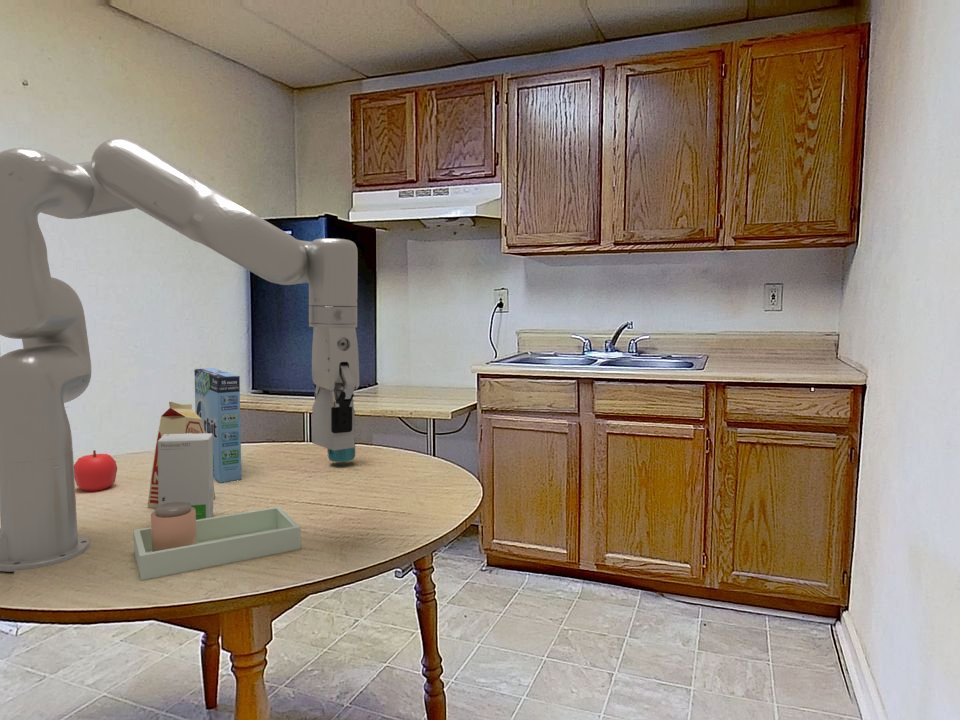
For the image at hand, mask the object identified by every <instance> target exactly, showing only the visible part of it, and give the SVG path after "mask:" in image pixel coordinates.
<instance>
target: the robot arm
mask: <svg viewBox="0 0 960 720" xmlns="http://www.w3.org/2000/svg"><path fill="white" fill-rule="evenodd" d="M134 209H137V210H139V211H141V212H142V213H144V214H146V215H148V216H149V217H152V218H154V219H155V220H157V221H159V222H161V223H162V224H164V225H166V226H167V227H169V228H171V229H172V230H175V231H176V232H178V233H179V234H181V235H183V236H185V237H186V238H188V239H189V240H192V241H194V242H197V243H199V244H201V245H204V246H205V247H206V248H209V249H211V250H213V251H214V252H215V253H218V254H219V255H221V256H223V257H224V258H227V259H228V260H230V261H232V262H233V263H235V264H237V265H238V266H240V267H242V268H244V269H246V270H248V271H249V272H250V273H253V274H254V275H255V276H258V277H260V278H261V279H263V280H265V281H268V282H269V283H272V284H276V285H277V284H278V285H281V286H290V285H297V284H298V285H299V284H308V327H309V328H310V327H311V328H313V329H312V331H313V333H312V344H311V345H312V346H311V380H312V382H313V384H314V389H315V392H314V401H315V400H316V398H317V396H318V393H319V391H320V388H324V389H327V390H330V391H331V393H332V399H333V405H334V407H331V431H332V432H333V433H344V432H351V431H352V406H354V402H353V400H354V398H355V397H354V396H355V395H354V391H355V390H357V389H358V388H359V386H360V366H359V365H360V363H359V362H360V361H359V358H360V357H359V347H358V346H359V344H358V336H357V330H356V328H358V277H359V276H358V270H359V269H358V267H359V266H358V263H359V261H358V259H359V257H358V247H357V245H356V243H355V242H354V241H352V240H350V239H345V238H333V237H332V238H330V237H329V238H327V237H325V238H324V237H323V238H317V239H314V240H312V241H307V240H300V239H297V238H295V237H294V236H292V235H291V234H289V233H287V232H286V231H284V230H283V229H280V228H279V227H277V226H275V225H274V224H272V223H270V222H269V221H267V220H265V219H263V218H262V217H260V216H258V214H255V213H253V212H252V211H250V210H248V209H246V208H244V207H243V206H241V205H239V204H237V203H236V202H234V201H233V200H231V199H230V198H228V197H227V196H226V195H225V194H224V193H222V192H221V191H220V190H218V189H216V188H215V186H214V187H213V186H212V185H210V184H208V183H207V182H205V181H203V180H202V179H200V178H198V177H197V176H194V175H193V174H191V173H189V172H187V171H186V170H185V169H183V168H181V167H179V166H178V165H176V164H174V163H172V161H171V162H170V160H167V159H165V158H164V157H162V156H161V155H159V154H157V153H155V152H154V151H153V150H150V149H149V148H148V147H146V146H143V145H142V144H140V143H137V142H135V141H134V140H131V139H127V138H122V137H120V138H118V137H117V138H111V139H108V140H105V141H103V142H102V143H100V144H99V145H98V146H97V147H96V149H94V151H93V154H92V156H91V159H90V161H85V162H78V163H69V162H67V161H65V160H64V159H61V158H59V157H57V156H55V155H52V154H51V153H48V152H46V151H44V150H43V151H42V150H40V149H36V148H29V147H16V148H9V149H5V150H3V151H0V336H2V337H5V338H8V339H13V340H14V339H15V340H16V339H17V340H22V341H21V343H22V348H19V349H16V350H11V351H9V352H7V353H5V354H3V355H1V356H0V572H7V573H15V571H16V570H17V571H18V570H28V569H29V570H30V569H36V568H37V569H38V568H42V567H43V568H44V567H48V566H52V565H56V564H60V563H63V562H66V561H69V560H71V559H74V558H77V557H78V556H80V555H82V554H84V553H85V552H86V551H88V550H89V548H90V547H91V541H90V539H89V538H88V537H86V536H84V535H79V534H78V517H77V515H78V514H77V499H76V498H77V496H76V481H75V478H74V465H75V460H74V448H73V436H72V430H71V424H70V422H69V418H68V414H67V411H66V407H65V404H66V403H69V402H71V401H73V400H75V399H78V398H79V397H80V396H81V395H83V394H84V393H85V392H86V390H87V388H88V387H89V386H90V382H91V378H92V361H91V353H90V345H89V338H88V337H89V336H88V331H87V323H86V316H85V310H84V307H83V303H82V300H81V298H80V297H79V295H78V293H77V292H76V290H74V288H73V287H72V286H71V285H69V284H68V283H66V282H65V281H63V280H61V279H58V278H57V277H56V278H55V277H53V276H52V274H51V271H50V266H49V259H48V258H49V257H48V249H47V248H48V247H47V245H46V241H45V240H46V239H45V237H44V235H43V232H42V230H41V227H40V225H39V221H38V220H39V219H38V216H39V214H40V213H42V214H44V215H49V216H52V217H56V218H59V219H65V220H77V219H86V218H90V217H97V216H103V215H108V214H114V213H119V212H126V211H130V210H134ZM342 385H344V387H338V386H342ZM338 393H340V396H339V398H338ZM352 399H353V400H352Z"/></svg>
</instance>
